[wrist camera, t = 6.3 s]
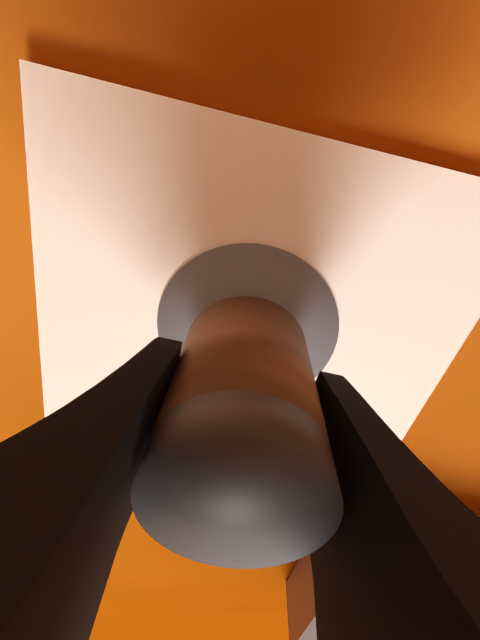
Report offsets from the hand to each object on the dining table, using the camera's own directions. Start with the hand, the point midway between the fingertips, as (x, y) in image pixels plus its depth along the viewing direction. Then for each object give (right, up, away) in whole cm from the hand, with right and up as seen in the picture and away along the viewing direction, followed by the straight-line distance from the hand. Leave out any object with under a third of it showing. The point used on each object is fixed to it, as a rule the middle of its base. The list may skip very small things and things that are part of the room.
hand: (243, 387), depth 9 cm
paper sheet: (0, +2, +3) cm, 3 cm away
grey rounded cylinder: (0, +1, +1) cm, 2 cm away
